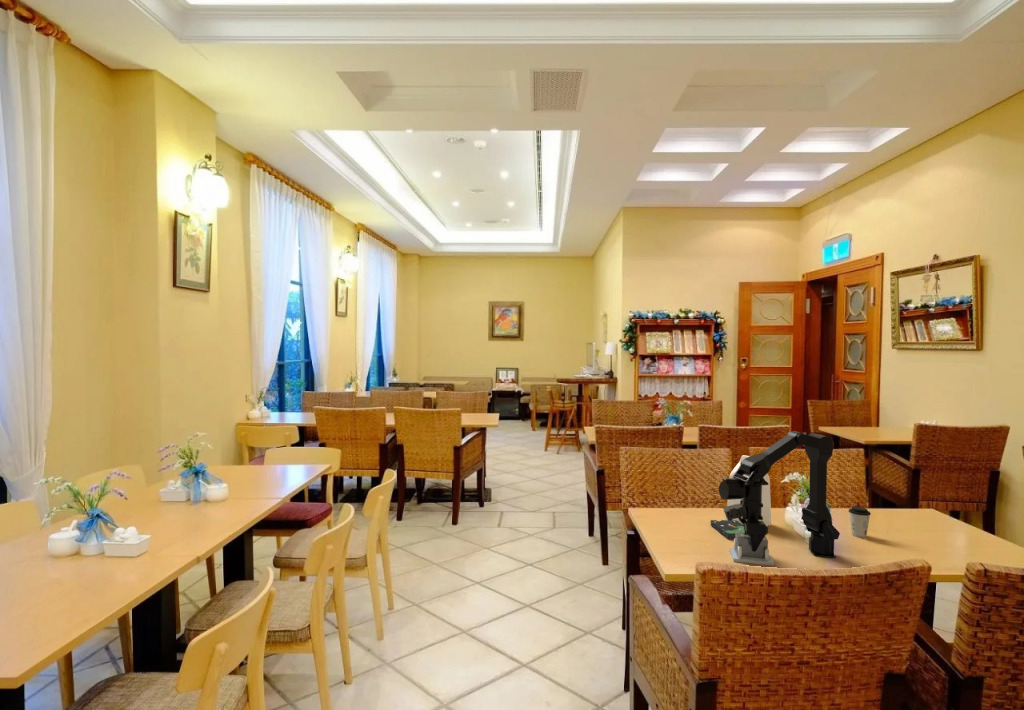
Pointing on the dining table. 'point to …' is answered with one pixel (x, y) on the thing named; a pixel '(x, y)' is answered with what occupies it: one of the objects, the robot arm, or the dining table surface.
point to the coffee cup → (859, 521)
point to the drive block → (745, 543)
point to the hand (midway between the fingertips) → (751, 546)
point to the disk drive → (728, 528)
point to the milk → (765, 497)
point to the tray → (739, 558)
